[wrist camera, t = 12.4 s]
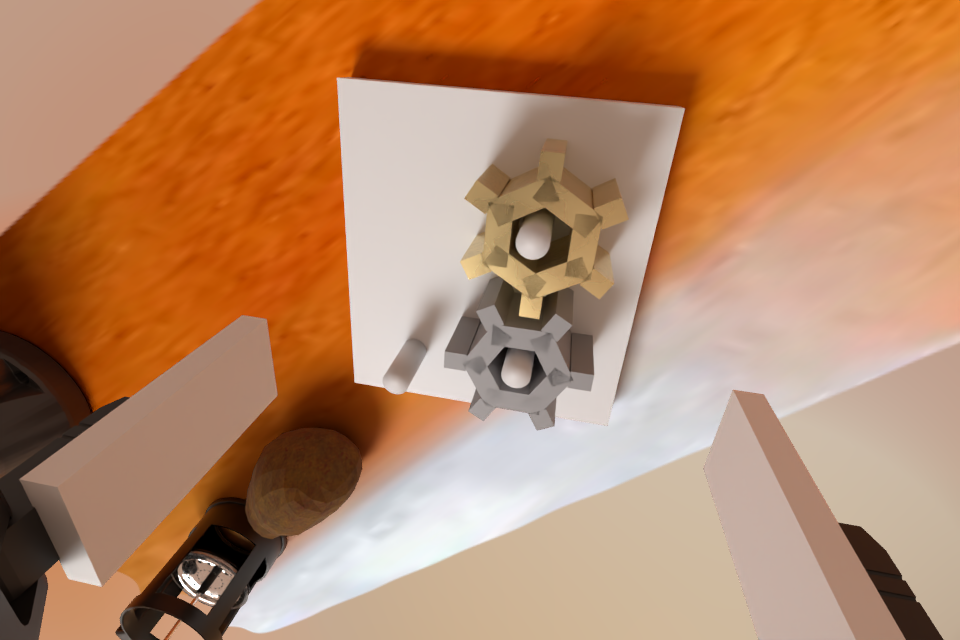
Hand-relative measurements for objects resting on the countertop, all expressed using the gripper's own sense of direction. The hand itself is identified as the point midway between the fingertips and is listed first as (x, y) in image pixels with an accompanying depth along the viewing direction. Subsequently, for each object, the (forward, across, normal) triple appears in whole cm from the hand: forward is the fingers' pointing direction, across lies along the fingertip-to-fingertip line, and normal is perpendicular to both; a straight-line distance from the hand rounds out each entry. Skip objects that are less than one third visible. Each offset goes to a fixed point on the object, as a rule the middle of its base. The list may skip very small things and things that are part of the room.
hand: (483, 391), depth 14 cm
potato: (+22, -18, -25) cm, 37 cm away
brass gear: (+19, +1, 0) cm, 19 cm away
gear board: (+21, -2, -4) cm, 22 cm away
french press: (+22, -28, -39) cm, 52 cm away
